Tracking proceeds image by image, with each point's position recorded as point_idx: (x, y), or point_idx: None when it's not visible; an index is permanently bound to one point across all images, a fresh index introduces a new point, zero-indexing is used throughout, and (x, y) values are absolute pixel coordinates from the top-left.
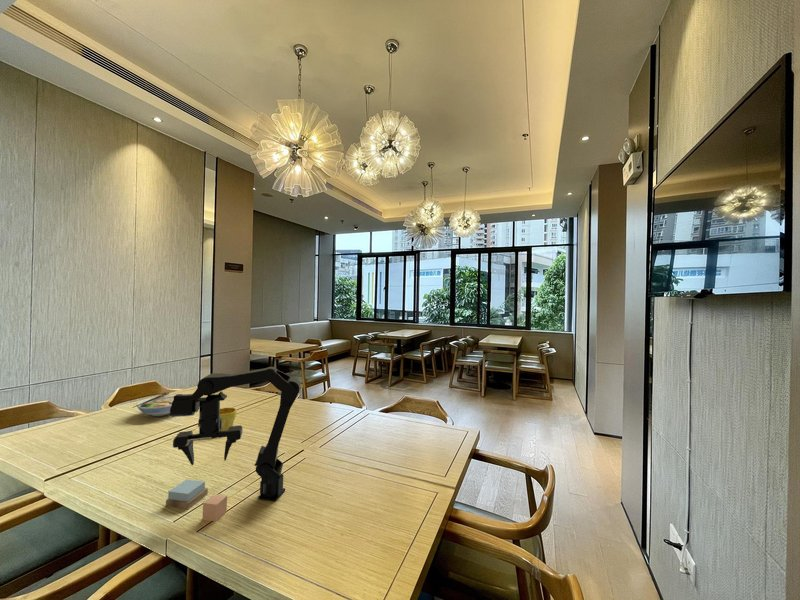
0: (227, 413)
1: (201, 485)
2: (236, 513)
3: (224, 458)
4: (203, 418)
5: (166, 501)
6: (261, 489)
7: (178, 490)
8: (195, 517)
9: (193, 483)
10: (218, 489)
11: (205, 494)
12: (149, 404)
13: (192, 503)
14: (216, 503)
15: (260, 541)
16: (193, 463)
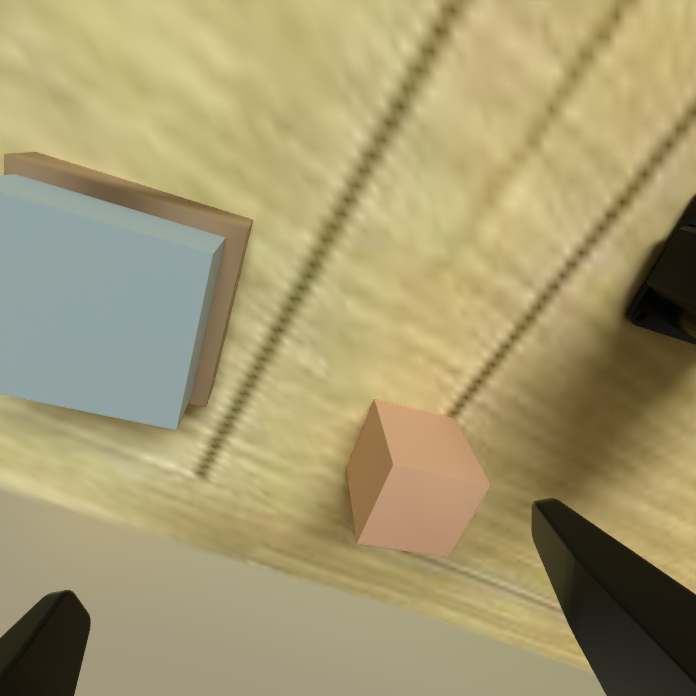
0: None
1: (207, 292)
2: (510, 433)
3: (559, 591)
4: None
5: None
6: (681, 306)
7: (53, 382)
8: (300, 452)
9: (114, 280)
10: (312, 153)
11: (246, 245)
12: None
13: (217, 363)
14: (443, 548)
15: None
16: (74, 623)
